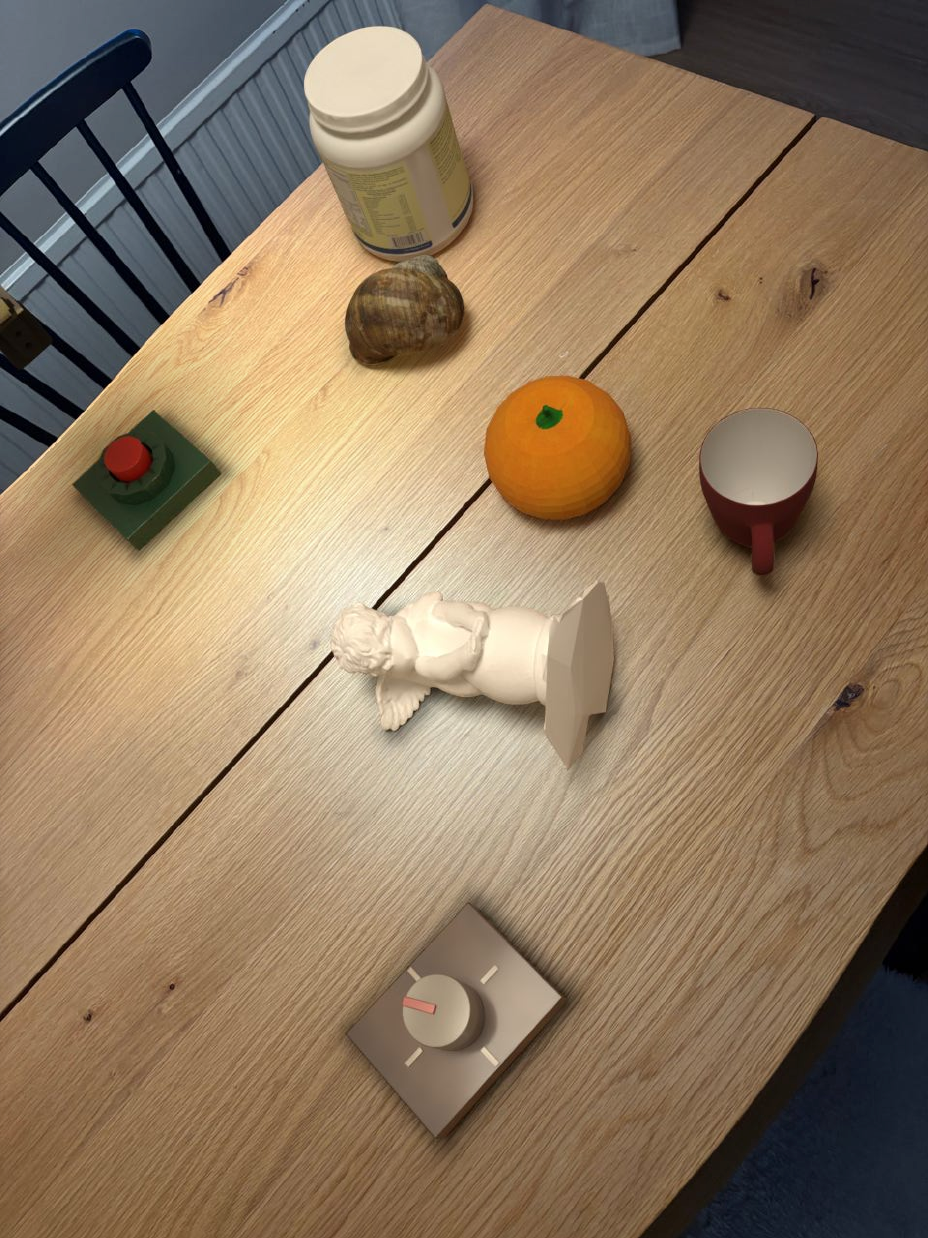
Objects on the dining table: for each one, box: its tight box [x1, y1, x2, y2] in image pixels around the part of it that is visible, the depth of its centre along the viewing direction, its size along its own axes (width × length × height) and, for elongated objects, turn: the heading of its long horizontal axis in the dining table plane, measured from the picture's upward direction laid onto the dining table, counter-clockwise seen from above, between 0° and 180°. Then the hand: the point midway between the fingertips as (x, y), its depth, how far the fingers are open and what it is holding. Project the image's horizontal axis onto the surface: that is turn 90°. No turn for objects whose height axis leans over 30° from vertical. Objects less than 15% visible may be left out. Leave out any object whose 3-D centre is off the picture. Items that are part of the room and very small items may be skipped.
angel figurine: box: [329, 580, 615, 771], centre depth 80 cm, size 14×20×12 cm
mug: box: [698, 407, 819, 577], centre depth 80 cm, size 11×8×10 cm
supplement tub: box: [303, 25, 474, 263], centre depth 98 cm, size 12×12×17 cm
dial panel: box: [345, 901, 568, 1139], centre depth 74 cm, size 12×9×3 cm
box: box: [72, 409, 222, 551], centre depth 98 cm, size 10×9×4 cm
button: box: [104, 436, 152, 482], centre depth 96 cm, size 4×4×2 cm
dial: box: [402, 974, 484, 1051], centre depth 71 cm, size 4×4×5 cm
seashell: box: [344, 255, 465, 366], centre depth 97 cm, size 11×9×8 cm
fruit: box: [483, 375, 632, 520], centre depth 86 cm, size 12×12×10 cm
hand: (0, 321), depth 79 cm, fingers open, 9 cm apart
